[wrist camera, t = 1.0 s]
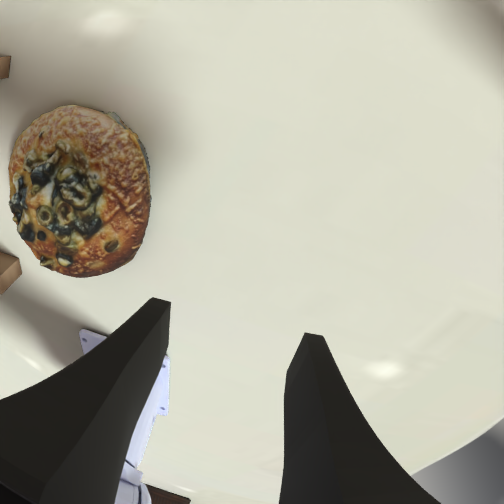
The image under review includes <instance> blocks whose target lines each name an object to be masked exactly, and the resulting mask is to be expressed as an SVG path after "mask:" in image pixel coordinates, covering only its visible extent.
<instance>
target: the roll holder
mask: <svg viewBox="0 0 504 504" xmlns="http://www.w3.org/2000/svg"><path fill="white" fill-rule="evenodd" d="M10 59H11V56H6V57H0V79H3V78H8V77H9V67H10ZM21 274H22V271H21V266H20V262H19V258H16V257H13V256H10V255H8V254H5V253H3V252H0V294H1V295H2V294H3V293H4V292H5V291H6V290H7V288H8V287H9V286H10V285H11V284H12V283H13V282H14V281H15V280H16V279H17V278H18V277H19V276H20V275H21Z"/></svg>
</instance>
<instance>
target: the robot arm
mask: <svg viewBox="0 0 504 504" xmlns="http://www.w3.org/2000/svg"><path fill="white" fill-rule="evenodd" d="M170 308H171V302H169V301H165V300H161V299H158V298H154V297H153V298H151V299H149V300H148V301H147V302H146V303H145V304H144V305H143V306H142V307H141V308H140V309H139V310H138V311H137V312H136V313H135V314H133V315H132V316H131V317H130V318H129V319H128V320H127V321H126V322H125V323H124V324H122V325H121V326H120V327H119V328H118V329H116V330H115V331H114V332H113V333H112V334H111V335H109V336H108V337H106V336H103V335H100V334H97V333H94V332H91V331H88V330H86V329H81V330H80V332H79V336H80V341H81V345H82V349H83V353H84V355H83V356H82V357H81V358H79V359H78V360H76V361H75V362H73V363H72V364H70V365H69V366H67V367H65V368H64V369H62V370H61V371H59V372H57V373H55V374H54V375H52V376H50V377H48V378H47V379H45V380H43V381H41V382H39V383H37V384H35V385H33V386H31V387H29V388H27V389H25V390H22V391H20V392H18V393H15V394H13V395H11V396H9V397H6V398H3V399H1V400H0V504H151V497H150V495H149V492H148V489H147V487H146V485H145V484H143V483H142V482H141V478H142V475H143V473H142V472H141V471H138V470H137V466H138V465H139V464H140V462H141V461H142V458H143V455H144V452H145V449H146V446H147V443H148V440H149V437H150V434H151V431H152V428H153V425H154V422H155V419H156V416H157V414H160V415H164V416H166V415H167V414H168V401H169V368H170V359H169V357H168V356H166V355H165V354H166V351H167V348H168V343H169V324H170ZM279 504H441V503H440V502H438V501H437V500H436V499H434V497H432V496H431V495H430V494H428V492H426V491H425V490H424V489H423V488H422V487H421V486H420V485H419V484H418V483H416V481H414V479H413V478H411V476H410V475H409V474H408V473H407V472H406V471H405V470H404V469H403V468H402V467H401V466H400V464H399V463H398V462H397V461H396V460H395V459H394V457H393V456H392V455H391V454H390V453H389V452H388V450H387V449H386V448H385V446H384V445H383V444H382V443H381V441H380V440H379V438H378V437H377V436H376V434H375V433H374V431H373V430H372V428H371V427H370V425H369V424H368V422H367V421H366V419H365V417H364V416H363V414H362V412H361V411H360V409H359V407H358V405H357V404H356V402H355V400H354V398H353V396H352V395H351V393H350V391H349V389H348V387H347V385H346V383H345V381H344V379H343V377H342V375H341V373H340V371H339V369H338V367H337V365H336V363H335V360H334V358H333V356H332V354H331V352H330V350H329V347H328V345H327V343H326V341H325V339H324V337H323V336H321V335H316V334H310V333H304V336H303V338H302V340H301V342H300V344H299V347H298V349H297V351H296V353H295V355H294V357H293V359H292V362H291V364H290V366H289V368H288V370H287V374H286V383H285V392H284V469H283V477H282V485H281V492H280V499H279Z"/></svg>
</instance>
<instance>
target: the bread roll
mask: <svg viewBox="0 0 504 504" xmlns="http://www.w3.org/2000/svg"><path fill="white" fill-rule="evenodd" d="M144 149H145V148H144V147H143V145H142V144H141V142H140V141H139V139H138V135H137V134H135V133H133V132H132V131H131V129H130V128H127V126H126V125H124V122H123V121H121V119H120V118H119V116H117V115H116V113H114V112H112V113H111V112H108V114H105V113H104V112H103V111H100V112H98V111H96V110H94V109H90V108H85V107H81V106H77V105H67V106H61V107H57V108H56V109H55V110H53V111H50V112H48V113H45V114H42V115H41V116H40V117H39V118H37V119H35V120H34V121H33V122H32V123H31V125H30V126H29V127H28V128H27V129H26V130H24V131H23V132H22V134H21V135H20V136H19V137H18V138H17V140H16V142H15V146H14V148H13V153H12V155H11V158H10V163H9V168H8V169H9V177H10V201H9V206H10V209H11V212H12V213H13V214H14V217H13V221H14V222H16V224H17V232H18V233H19V234H20V236H21V238H22V239H23V240H24V241H25V243H26V244H27V245H28V246H29V247H30V248H31V250H32V252H33V253H34V255H35V256H36V258H37V259H39V260H40V261H41V262H40V265H41V266H44V267H46V268H48V269H50V270H51V271H57V272H59V273H61V274H63V275H67V276H71V277H76V278H78V277H79V278H85V277H92V276H98V275H102V274H105V273H108V272H111V271H114V270H115V269H117V268H119V267H121V266H123V265H125V264H127V263H128V262H130V261H131V260H132V259H133V258H134V256H135V255H136V252H137V251H138V249H139V248H140V246H141V244H142V242H143V238H144V235H145V230H146V227H147V225H148V219H149V214H150V213H149V212H150V207H151V206H150V205H151V203H150V202H151V199H152V198H151V195H150V181H149V178H150V175H149V174H150V172H149V171H150V169H149V168H150V166H149V162H148V157H147V156H146V155H147V153H146V152H145V150H144Z"/></svg>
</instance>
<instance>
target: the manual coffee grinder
mask: <svg viewBox="0 0 504 504" xmlns="http://www.w3.org/2000/svg"><path fill="white" fill-rule="evenodd" d="M143 484H144V483H143ZM145 485H146V487H147V489H148V492H149V495H150V497H151V504H189V503H190V501H191V500H190V499H188V498H185V497H182V496H179V495H176V494H173V493H170V492H167V491H164V490H161V489H159V488H156V487H153V486H150V485H147V484H145Z"/></svg>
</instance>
